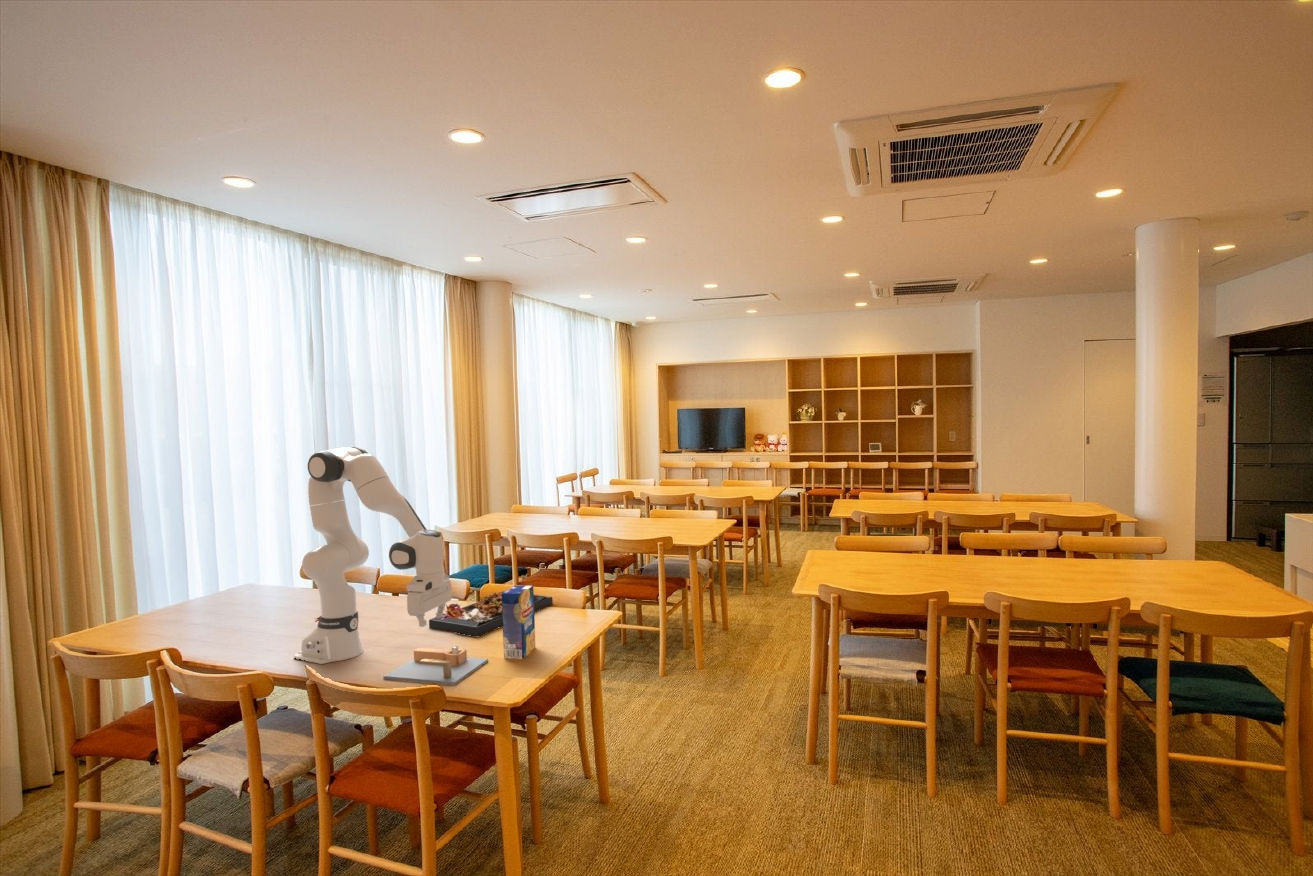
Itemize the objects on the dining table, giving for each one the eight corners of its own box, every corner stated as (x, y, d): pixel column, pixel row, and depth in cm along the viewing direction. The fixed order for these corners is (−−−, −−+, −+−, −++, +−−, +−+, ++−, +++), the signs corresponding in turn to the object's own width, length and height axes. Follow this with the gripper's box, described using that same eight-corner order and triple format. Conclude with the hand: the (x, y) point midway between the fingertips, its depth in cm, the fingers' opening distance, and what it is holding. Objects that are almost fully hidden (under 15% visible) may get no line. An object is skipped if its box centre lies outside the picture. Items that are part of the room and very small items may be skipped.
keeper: (420, 676, 211) (419, 661, 211) (424, 674, 213) (423, 658, 213) (448, 678, 208) (447, 663, 208) (451, 676, 210) (451, 660, 210)
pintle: (451, 663, 222) (450, 648, 222) (454, 661, 224) (453, 646, 224) (456, 663, 221) (455, 648, 221) (459, 661, 223) (459, 646, 223)
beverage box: (535, 648, 236) (533, 585, 236) (523, 660, 226) (520, 594, 225) (517, 648, 238) (514, 585, 237) (503, 659, 227) (501, 593, 226)
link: (412, 662, 224) (411, 651, 224) (421, 656, 229) (421, 646, 229) (458, 665, 219) (457, 655, 219) (466, 660, 224) (466, 649, 224)
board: (383, 679, 212) (383, 676, 212) (421, 656, 232) (421, 653, 232) (454, 685, 206) (454, 682, 206) (488, 661, 225) (488, 658, 225)
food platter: (477, 639, 250) (476, 611, 250) (429, 631, 262) (428, 604, 261) (552, 607, 290) (551, 583, 289) (507, 601, 301) (506, 578, 301)
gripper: (440, 572, 235) (440, 612, 235) (402, 587, 215) (404, 630, 215) (456, 573, 233) (457, 613, 233) (420, 588, 213) (421, 632, 214)
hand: (431, 621), depth 224 cm, fingers open, 8 cm apart
